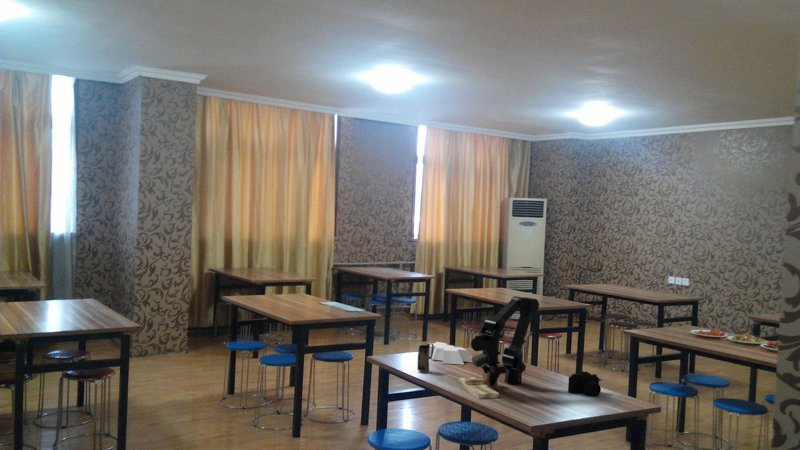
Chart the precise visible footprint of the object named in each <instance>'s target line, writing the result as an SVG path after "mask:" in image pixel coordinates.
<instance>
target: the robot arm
mask: <svg viewBox="0 0 800 450" xmlns="http://www.w3.org/2000/svg"><path fill="white" fill-rule="evenodd" d="M539 308H540V303H539V301H538V299H536V298H531V297H525V296H524V297H521V296H518V295H517V296H516V295H515V296H512V297H511V299H510V301H508V302H507V304H505V305H504V306H503V308H501V310H500V311H498V312H497V313H495V314H494V315H490V316H489V317H487V318H486V319H485V320H484V322H483V324H482V326H481V328H480V330H479V332H478V334H474V335H475V336H474V338H472V340H471V342H470V346H471V349H472V350H473V351H475V352H482V353H481V354H478V355H475V356H473V357H472V362H473V363H472V362H471V363H472V364H473V366H475V367H476V368H481V369H482V371H483V373H489V374H490V383H491V386H494V384H495V382H496V381H497V379H499V377H500V375H502V374H504V380H503V382H505V383H506V384H508V385H509V386H516V385H518V386H519V385H521V386H522V385H524V383H523V382H522V377H523V373H524V372H526V369H527V368H526V367H527V366H526V363H525V362H524V361H523V357H524V355H523V350H522V349H523V345H524V342H525V338H526V335H527V332H528V329H529V326H530V324H531V323H530V322H531V320H532V318H533V317H535V316H536V314H537V313H538V310H539ZM517 310H518V311H519V317H518V320H517V324H516V327H515V331H514V334H513V337H512V339H511V343H510V345H509V346H508V347H504V348H503V349H504V350H503V352H502V354H501V351H499V347H500V339H502V338H503V335H502V334H501V332H502V331H503V330H504V328H505V326H506V322H507V321H508V320H509V319H510V318H511V317H512V316H513V315H514V314H515V313H516V312H517ZM499 355H501V357H502V358H501V361H502V364H501V363H500V360H499ZM497 382H498V381H497Z"/></svg>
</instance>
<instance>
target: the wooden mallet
mask: <svg viewBox="0 0 800 450" xmlns="http://www.w3.org/2000/svg"><path fill="white" fill-rule="evenodd" d="M498 379H499V378H498ZM498 379H497V381H496V382H495V384H494V386H491V383H490V374H489V373H484V372H483V373H482V378H476V379H466V380H465V383H466V384H467V383H484V384H485V385H487V386H489V387H490V388H492V389H493V390H496V389H498Z"/></svg>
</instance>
